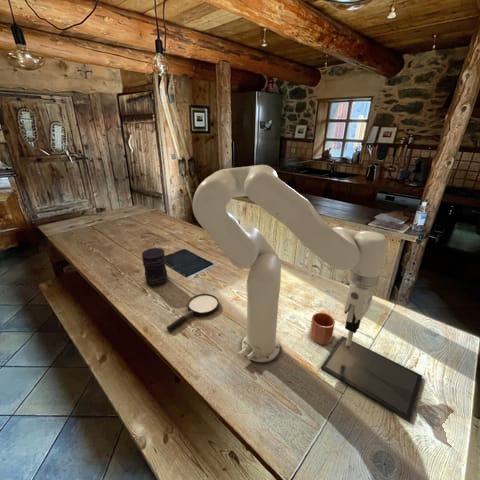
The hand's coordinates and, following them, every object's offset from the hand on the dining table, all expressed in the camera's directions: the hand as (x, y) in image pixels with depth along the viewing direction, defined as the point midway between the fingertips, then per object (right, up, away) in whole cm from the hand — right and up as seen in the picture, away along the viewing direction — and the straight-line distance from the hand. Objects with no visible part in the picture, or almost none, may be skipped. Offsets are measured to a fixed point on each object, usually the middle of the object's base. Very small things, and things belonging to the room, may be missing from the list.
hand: (351, 328), depth 80 cm
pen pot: (-5, -8, +14) cm, 17 cm away
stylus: (0, -7, +3) cm, 8 cm away
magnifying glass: (-52, -3, +24) cm, 58 cm away
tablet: (+6, -14, 0) cm, 15 cm away
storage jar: (-73, +7, +46) cm, 86 cm away
